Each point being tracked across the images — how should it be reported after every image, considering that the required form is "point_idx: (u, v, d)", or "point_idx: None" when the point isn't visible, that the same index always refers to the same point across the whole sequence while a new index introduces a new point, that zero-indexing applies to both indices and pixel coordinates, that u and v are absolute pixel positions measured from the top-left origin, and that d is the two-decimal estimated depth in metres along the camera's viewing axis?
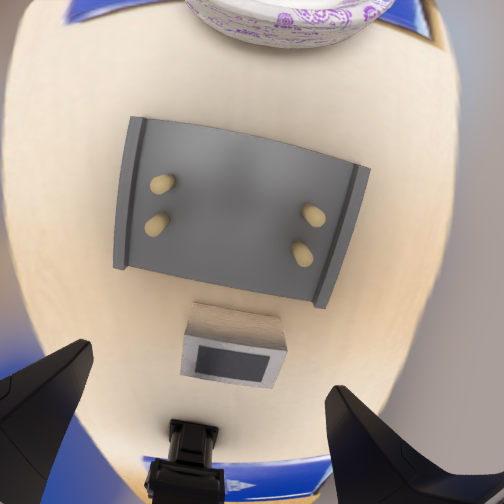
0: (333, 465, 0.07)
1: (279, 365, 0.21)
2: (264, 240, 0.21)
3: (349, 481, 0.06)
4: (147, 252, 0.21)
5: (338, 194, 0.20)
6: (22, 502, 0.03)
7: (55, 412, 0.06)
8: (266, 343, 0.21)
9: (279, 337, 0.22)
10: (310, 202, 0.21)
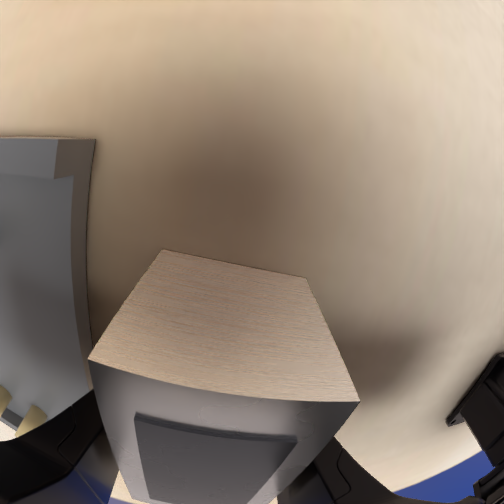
0: None
1: (184, 394, 0.04)
2: None
3: (286, 487, 0.06)
4: None
5: None
6: None
7: None
8: None
9: None
10: None
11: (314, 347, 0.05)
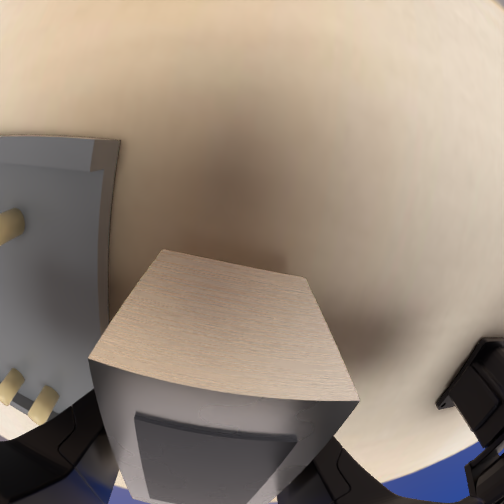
0: None
1: (184, 393, 0.04)
2: (21, 279, 0.09)
3: (286, 487, 0.06)
4: None
5: None
6: None
7: None
8: None
9: None
10: None
11: (314, 347, 0.05)
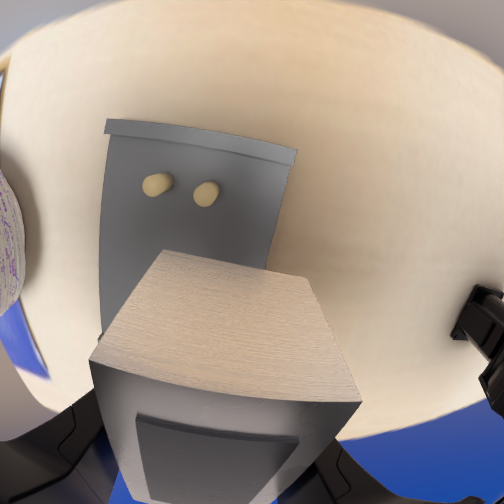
0: None
1: (186, 394, 0.04)
2: (202, 231, 0.18)
3: None
4: None
5: (143, 147, 0.16)
6: None
7: None
8: None
9: None
10: None
11: (316, 347, 0.05)
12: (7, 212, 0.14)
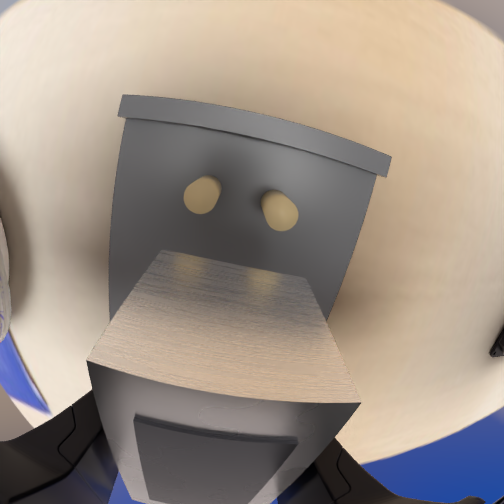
0: None
1: (183, 395, 0.04)
2: (259, 258, 0.13)
3: None
4: None
5: (177, 138, 0.11)
6: None
7: None
8: None
9: None
10: None
11: (315, 348, 0.05)
12: None
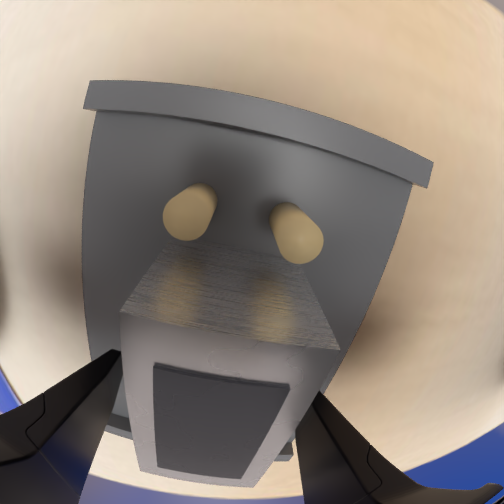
0: (300, 467, 0.07)
1: (197, 338, 0.05)
2: None
3: (314, 485, 0.06)
4: None
5: (158, 134, 0.08)
6: None
7: (90, 427, 0.06)
8: None
9: None
10: None
11: (302, 309, 0.07)
12: None
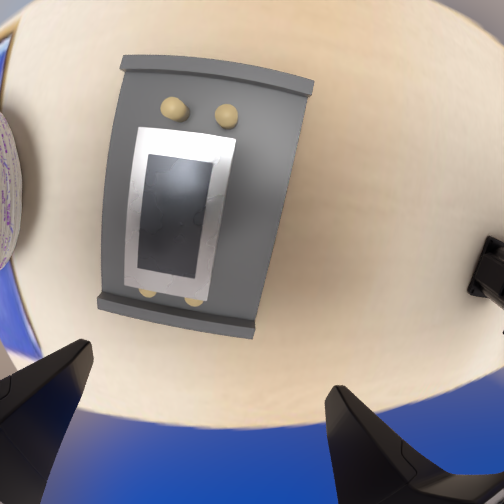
0: (333, 465, 0.07)
1: (170, 134, 0.11)
2: None
3: (349, 481, 0.06)
4: (237, 298, 0.20)
5: (159, 82, 0.14)
6: (22, 502, 0.03)
7: (55, 412, 0.06)
8: None
9: None
10: None
11: None
12: (7, 154, 0.12)
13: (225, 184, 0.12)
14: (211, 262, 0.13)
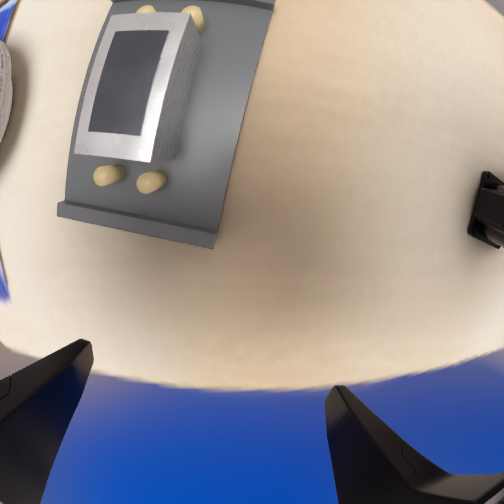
0: (333, 465, 0.07)
1: (136, 15, 0.09)
2: None
3: (349, 481, 0.06)
4: (198, 200, 0.18)
5: (140, 6, 0.12)
6: (22, 502, 0.03)
7: (55, 412, 0.06)
8: None
9: None
10: None
11: None
12: (3, 69, 0.10)
13: (177, 46, 0.10)
14: (157, 117, 0.11)
